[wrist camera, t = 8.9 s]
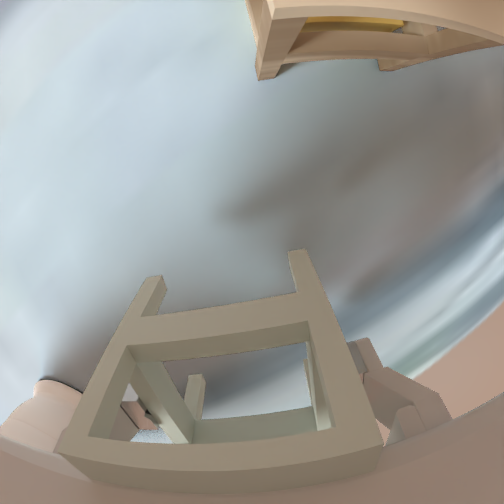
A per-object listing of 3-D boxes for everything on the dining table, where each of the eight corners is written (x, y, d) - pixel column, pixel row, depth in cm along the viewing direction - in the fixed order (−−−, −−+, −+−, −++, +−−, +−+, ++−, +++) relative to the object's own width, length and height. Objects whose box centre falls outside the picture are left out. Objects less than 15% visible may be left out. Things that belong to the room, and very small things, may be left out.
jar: (18, 350, 17) (-61, 482, 4) (125, 399, 19) (77, 570, 5) (38, 413, 21) (-7, 517, 8) (123, 450, 23) (96, 569, 9)
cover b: (146, 277, 11) (56, 451, 4) (305, 248, 11) (384, 443, 4) (193, 383, 14) (171, 528, 7) (317, 366, 14) (353, 517, 6)
